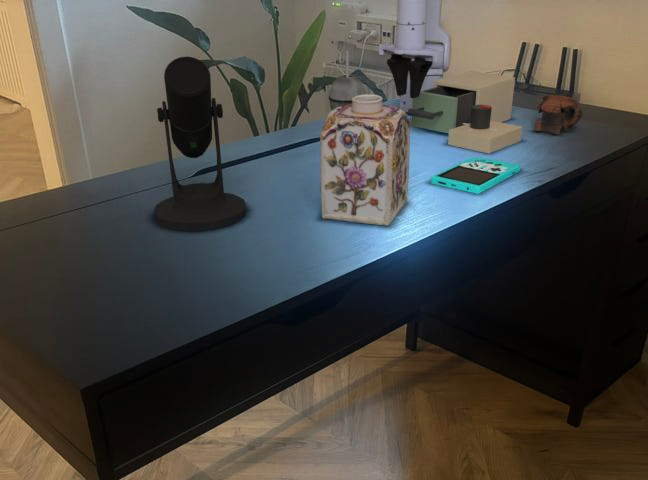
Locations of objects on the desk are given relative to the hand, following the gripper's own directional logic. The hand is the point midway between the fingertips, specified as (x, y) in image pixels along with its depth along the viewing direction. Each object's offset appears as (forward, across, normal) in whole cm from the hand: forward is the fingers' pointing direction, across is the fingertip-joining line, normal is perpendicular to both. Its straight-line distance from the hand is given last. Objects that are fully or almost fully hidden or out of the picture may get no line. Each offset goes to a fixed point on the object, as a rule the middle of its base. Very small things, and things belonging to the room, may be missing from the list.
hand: (408, 96), depth 150 cm
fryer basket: (+8, 0, +13) cm, 15 cm away
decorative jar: (+10, +20, -36) cm, 42 cm away
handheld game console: (+10, +24, -10) cm, 27 cm away
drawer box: (+9, 0, +24) cm, 26 cm away
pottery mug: (+10, +19, +29) cm, 36 cm away
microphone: (+10, +1, -55) cm, 56 cm away
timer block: (+9, +12, +10) cm, 19 cm away
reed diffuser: (+10, -2, -16) cm, 19 cm away
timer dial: (+6, +11, +10) cm, 16 cm away
